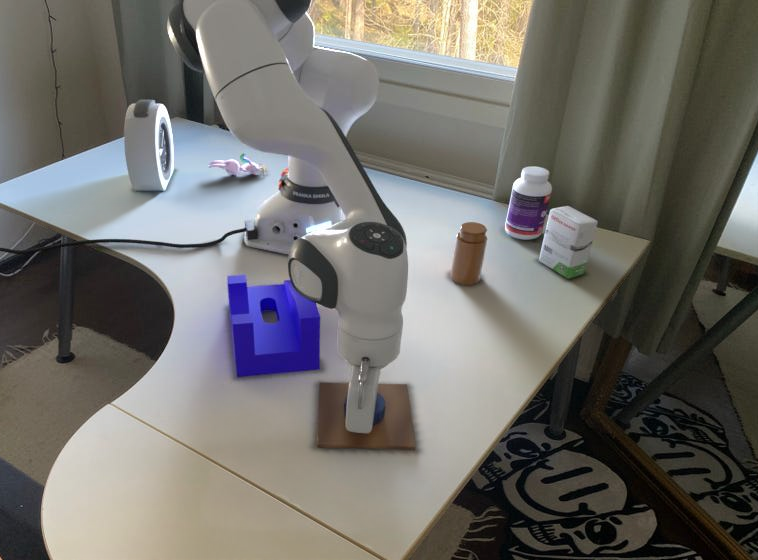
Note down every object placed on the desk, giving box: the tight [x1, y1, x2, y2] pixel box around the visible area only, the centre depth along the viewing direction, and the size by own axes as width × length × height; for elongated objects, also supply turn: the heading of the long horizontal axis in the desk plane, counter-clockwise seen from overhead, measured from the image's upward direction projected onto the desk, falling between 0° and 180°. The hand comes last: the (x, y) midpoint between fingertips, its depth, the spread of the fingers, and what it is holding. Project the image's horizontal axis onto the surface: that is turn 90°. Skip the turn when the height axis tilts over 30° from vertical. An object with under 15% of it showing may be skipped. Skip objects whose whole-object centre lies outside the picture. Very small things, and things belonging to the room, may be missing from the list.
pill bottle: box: [504, 166, 553, 241], centre depth 144 cm, size 8×8×14 cm
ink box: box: [538, 205, 599, 280], centre depth 133 cm, size 9×5×12 cm, turn 26°
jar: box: [450, 221, 488, 286], centre depth 130 cm, size 6×6×11 cm
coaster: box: [316, 381, 416, 451], centre depth 101 cm, size 14×14×1 cm
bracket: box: [226, 274, 321, 378], centre depth 114 cm, size 21×14×10 cm, turn 9°
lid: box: [344, 392, 385, 426], centre depth 100 cm, size 6×6×2 cm
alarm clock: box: [123, 99, 175, 192], centre depth 167 cm, size 21×8×20 cm, turn 179°
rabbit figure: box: [207, 153, 267, 176], centre depth 174 cm, size 6×6×15 cm
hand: (363, 412), depth 101 cm, fingers closed on lid, 6 cm apart
